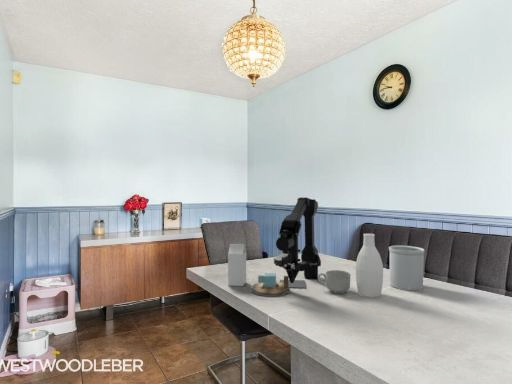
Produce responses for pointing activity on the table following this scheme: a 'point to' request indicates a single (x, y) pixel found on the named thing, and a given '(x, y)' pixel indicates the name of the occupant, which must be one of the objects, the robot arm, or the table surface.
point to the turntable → (272, 290)
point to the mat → (295, 284)
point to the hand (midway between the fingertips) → (291, 283)
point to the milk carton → (236, 265)
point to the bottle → (369, 269)
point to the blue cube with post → (268, 279)
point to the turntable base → (270, 294)
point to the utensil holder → (406, 267)
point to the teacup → (336, 281)
